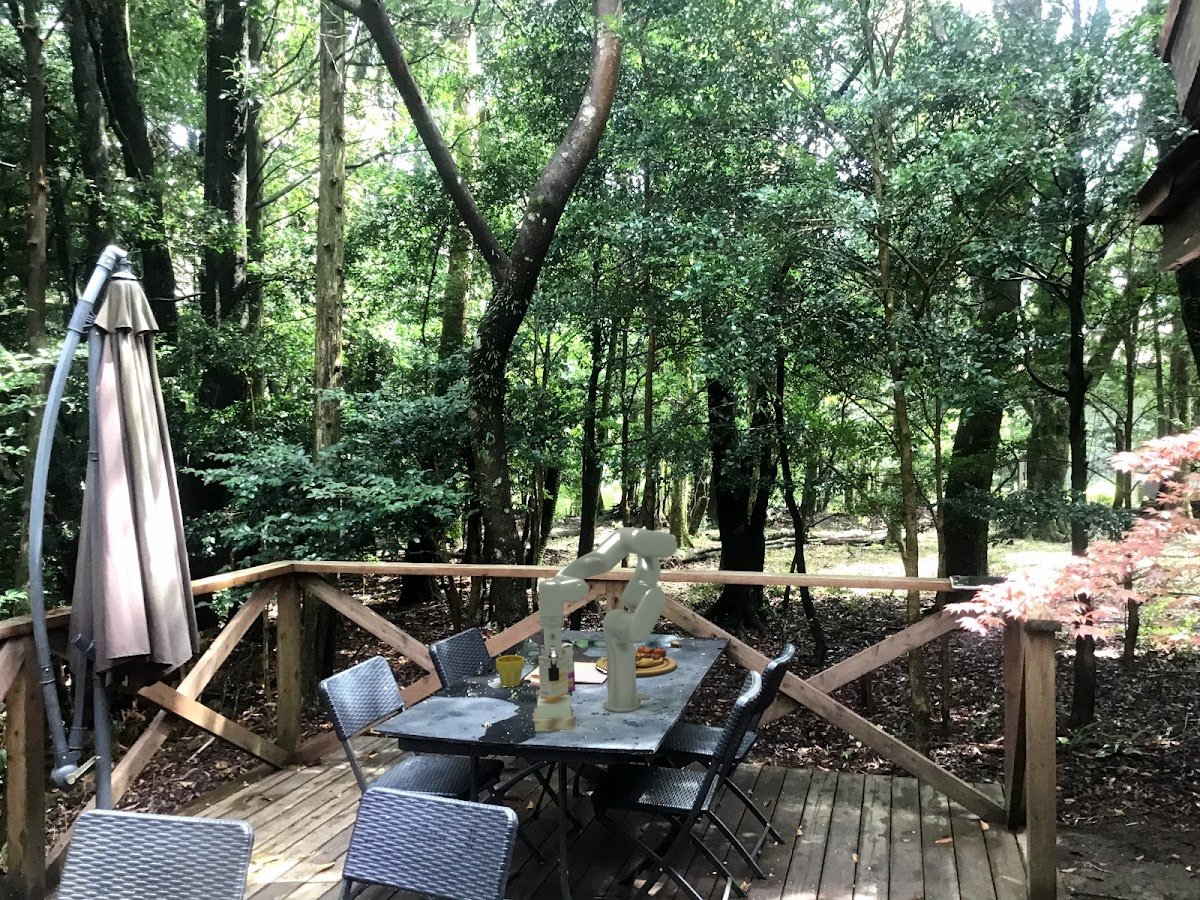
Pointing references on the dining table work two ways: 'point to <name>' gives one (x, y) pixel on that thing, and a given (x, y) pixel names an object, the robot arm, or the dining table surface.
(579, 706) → the dining table surface
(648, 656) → the wooden plate with food
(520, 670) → the plant pot
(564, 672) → the supplement box
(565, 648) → the candy bar box
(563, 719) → the tower base block
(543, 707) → the tower top block
